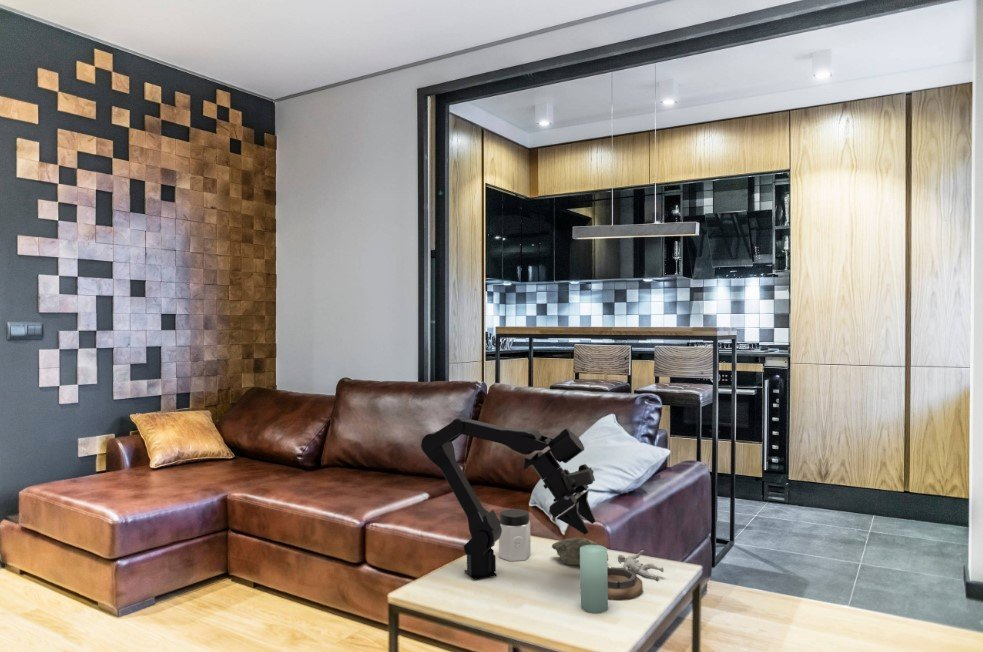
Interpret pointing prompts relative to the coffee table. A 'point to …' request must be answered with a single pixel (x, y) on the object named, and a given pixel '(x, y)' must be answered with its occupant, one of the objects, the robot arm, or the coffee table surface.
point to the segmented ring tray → (623, 584)
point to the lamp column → (593, 578)
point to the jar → (514, 535)
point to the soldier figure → (638, 565)
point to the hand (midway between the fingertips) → (590, 527)
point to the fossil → (571, 549)
